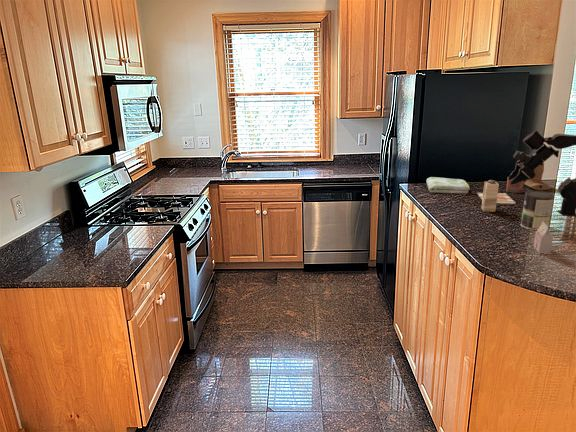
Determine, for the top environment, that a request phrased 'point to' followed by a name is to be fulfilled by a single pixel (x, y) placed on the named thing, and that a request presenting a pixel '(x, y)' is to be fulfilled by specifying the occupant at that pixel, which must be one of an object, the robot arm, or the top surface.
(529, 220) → the coffee can
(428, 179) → the towel
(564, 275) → the top surface
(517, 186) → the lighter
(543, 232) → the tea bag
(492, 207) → the pepper mill
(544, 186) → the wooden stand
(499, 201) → the card
